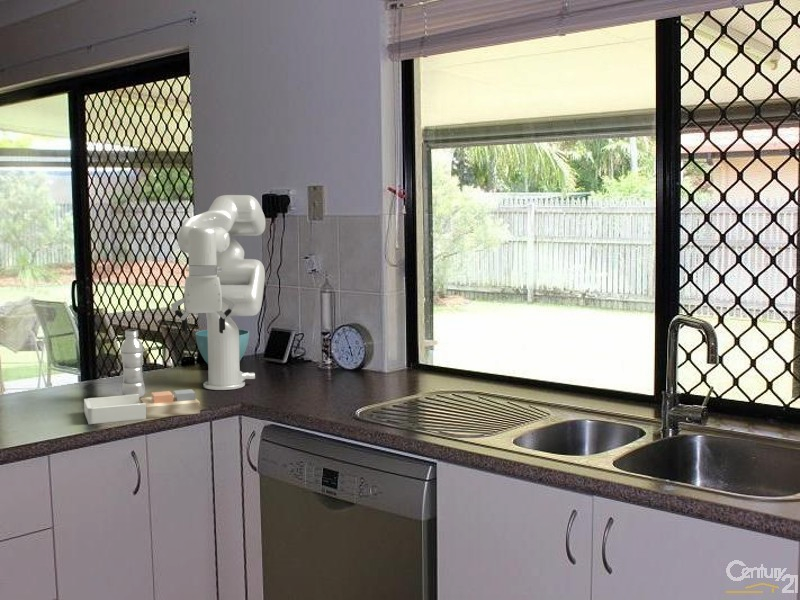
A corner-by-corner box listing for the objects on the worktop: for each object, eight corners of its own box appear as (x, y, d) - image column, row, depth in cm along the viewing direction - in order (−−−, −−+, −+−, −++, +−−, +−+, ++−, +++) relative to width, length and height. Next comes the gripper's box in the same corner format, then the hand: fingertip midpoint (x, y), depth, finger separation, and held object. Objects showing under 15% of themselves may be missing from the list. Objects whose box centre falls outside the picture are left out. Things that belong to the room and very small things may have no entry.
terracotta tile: (170, 398, 243) (169, 390, 243) (173, 401, 238) (173, 394, 238) (151, 399, 241) (151, 392, 241) (154, 403, 236) (154, 396, 236)
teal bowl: (252, 370, 299) (252, 335, 297) (197, 373, 294) (197, 337, 292) (246, 361, 316) (246, 327, 314) (194, 363, 311) (194, 329, 309)
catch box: (139, 408, 244) (138, 394, 243) (146, 418, 232) (145, 403, 231) (84, 413, 238) (83, 398, 237) (88, 424, 226) (88, 408, 225)
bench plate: (191, 403, 249) (191, 393, 249) (200, 413, 238) (199, 402, 238) (140, 408, 243) (140, 397, 243) (147, 418, 232) (146, 407, 232)
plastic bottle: (150, 396, 258) (148, 329, 256) (135, 401, 252) (133, 332, 250) (131, 395, 260) (129, 328, 258) (117, 399, 254) (114, 331, 252)
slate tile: (191, 396, 245) (191, 389, 245) (195, 399, 241) (195, 392, 241) (173, 397, 243) (173, 390, 243) (176, 401, 239) (176, 394, 238)
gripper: (232, 271, 249) (233, 331, 251) (169, 271, 244) (170, 332, 245) (236, 272, 242) (236, 333, 243) (171, 272, 237) (172, 336, 238)
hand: (203, 333), depth 244 cm, fingers open, 9 cm apart
